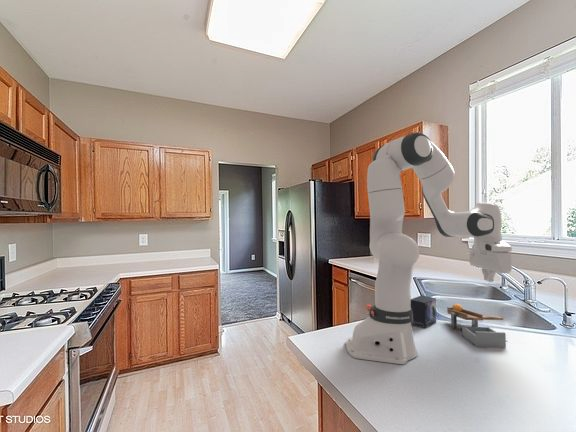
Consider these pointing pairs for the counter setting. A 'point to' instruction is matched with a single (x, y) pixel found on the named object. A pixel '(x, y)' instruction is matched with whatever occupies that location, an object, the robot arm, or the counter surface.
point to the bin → (484, 337)
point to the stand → (459, 327)
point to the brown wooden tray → (472, 315)
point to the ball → (457, 307)
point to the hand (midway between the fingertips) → (488, 281)
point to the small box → (423, 311)
